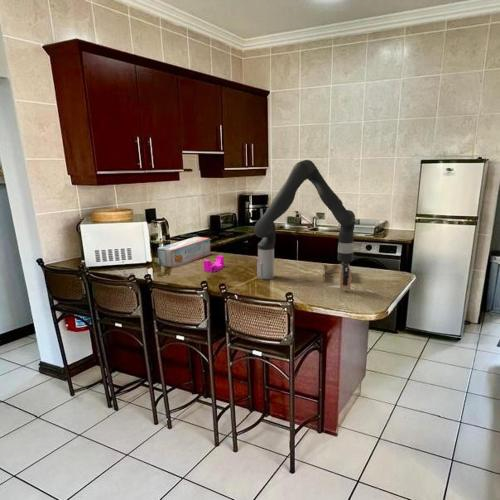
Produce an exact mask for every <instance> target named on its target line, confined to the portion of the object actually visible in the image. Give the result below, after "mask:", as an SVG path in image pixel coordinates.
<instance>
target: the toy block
mask: <svg viewBox="0 0 500 500" xmlns="http://www.w3.org/2000/svg"><path fill="white" fill-rule="evenodd" d="M202 261H203V272H206V273H215V272H217V271H221V270H223V268H224V267H225V257H224V255H220V254H219V255H217V256H216V260H215V262H214V263H212V260H209V259H204V260H202Z"/></svg>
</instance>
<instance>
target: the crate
mask: <svg viewBox="0 0 500 500" xmlns="http://www.w3.org/2000/svg"><path fill="white" fill-rule="evenodd" d="M340 269H341V263H338V264H337V263H336V264H335V263H333V264H332V263H331V264H330V263H329V264H328V263H326V264H325V263H322V264H321V276H322V282H323V283H326V273H328V274H340ZM349 269H350V270H351V268H349ZM325 272H326V273H325ZM352 276H353V275H352V273H351V283H352Z"/></svg>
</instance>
